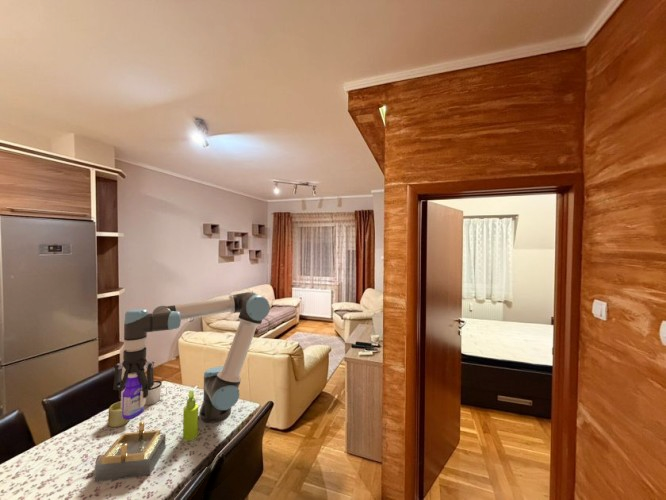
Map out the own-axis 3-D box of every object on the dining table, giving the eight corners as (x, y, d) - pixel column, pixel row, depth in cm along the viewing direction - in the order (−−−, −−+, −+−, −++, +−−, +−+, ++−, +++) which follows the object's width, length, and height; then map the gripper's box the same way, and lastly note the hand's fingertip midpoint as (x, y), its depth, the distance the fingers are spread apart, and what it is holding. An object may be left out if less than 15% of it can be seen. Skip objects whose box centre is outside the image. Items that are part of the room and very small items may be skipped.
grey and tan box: (165, 447, 117) (166, 419, 117) (149, 476, 102) (150, 443, 102) (109, 453, 113) (110, 424, 113) (84, 483, 98) (85, 450, 98)
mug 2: (139, 407, 146) (139, 390, 146) (142, 398, 155) (143, 382, 155) (165, 402, 151) (165, 386, 151) (167, 394, 160) (168, 378, 160)
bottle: (130, 422, 106) (131, 377, 107) (118, 419, 108) (120, 375, 108) (146, 411, 113) (148, 369, 114) (135, 409, 115) (137, 367, 115)
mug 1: (97, 422, 130) (108, 400, 132) (120, 417, 139) (129, 397, 141) (111, 435, 125) (122, 412, 127) (134, 429, 134) (143, 408, 136)
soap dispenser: (182, 443, 119) (184, 397, 120) (182, 434, 126) (183, 390, 126) (198, 439, 122) (199, 394, 122) (197, 430, 128) (198, 387, 128)
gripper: (165, 344, 116) (163, 399, 116) (114, 345, 113) (112, 402, 113) (156, 351, 109) (154, 409, 108) (102, 352, 106) (100, 412, 105)
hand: (133, 405), depth 111 cm, fingers closed on bottle, 6 cm apart
